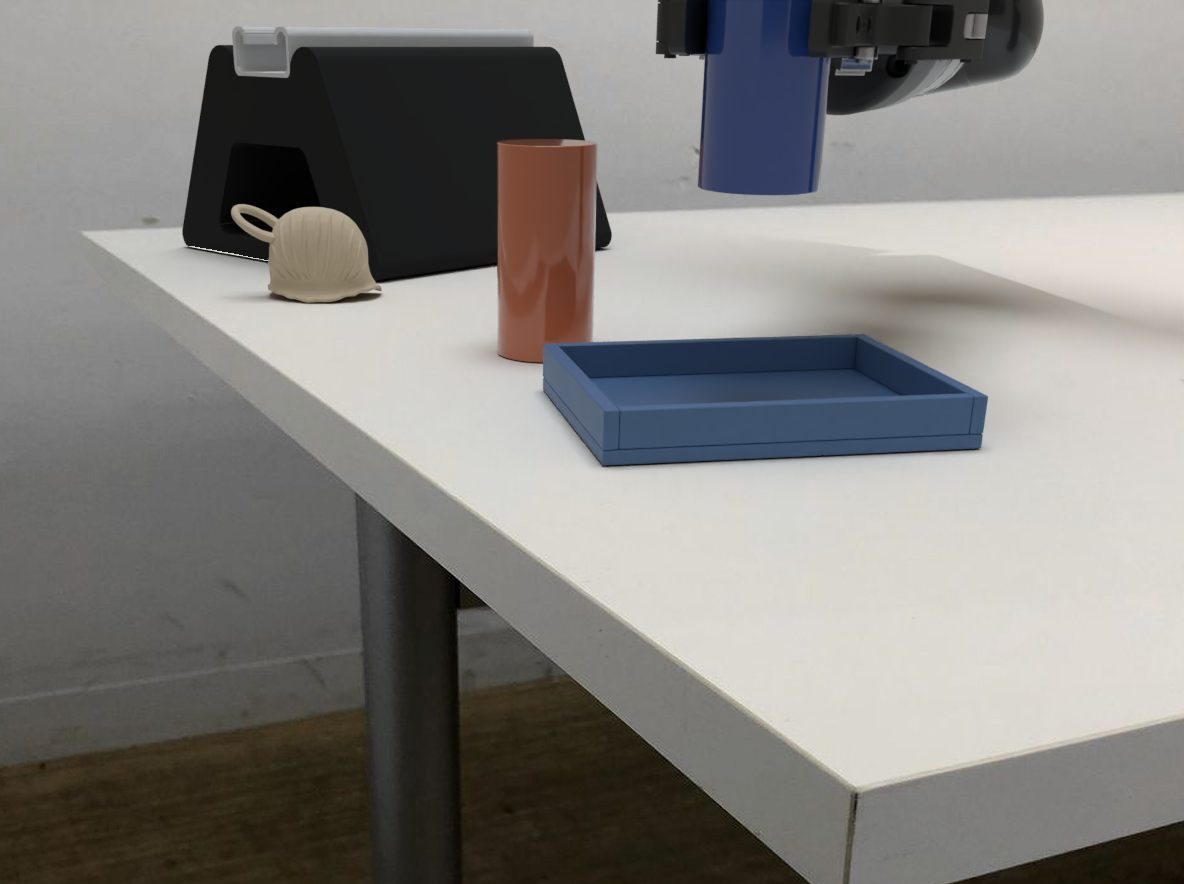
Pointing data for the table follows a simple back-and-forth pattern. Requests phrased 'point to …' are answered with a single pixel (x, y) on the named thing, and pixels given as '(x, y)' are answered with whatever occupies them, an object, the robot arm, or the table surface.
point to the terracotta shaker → (545, 244)
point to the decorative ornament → (312, 253)
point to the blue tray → (756, 399)
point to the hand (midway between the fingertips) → (748, 23)
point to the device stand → (373, 136)
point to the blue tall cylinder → (761, 100)
